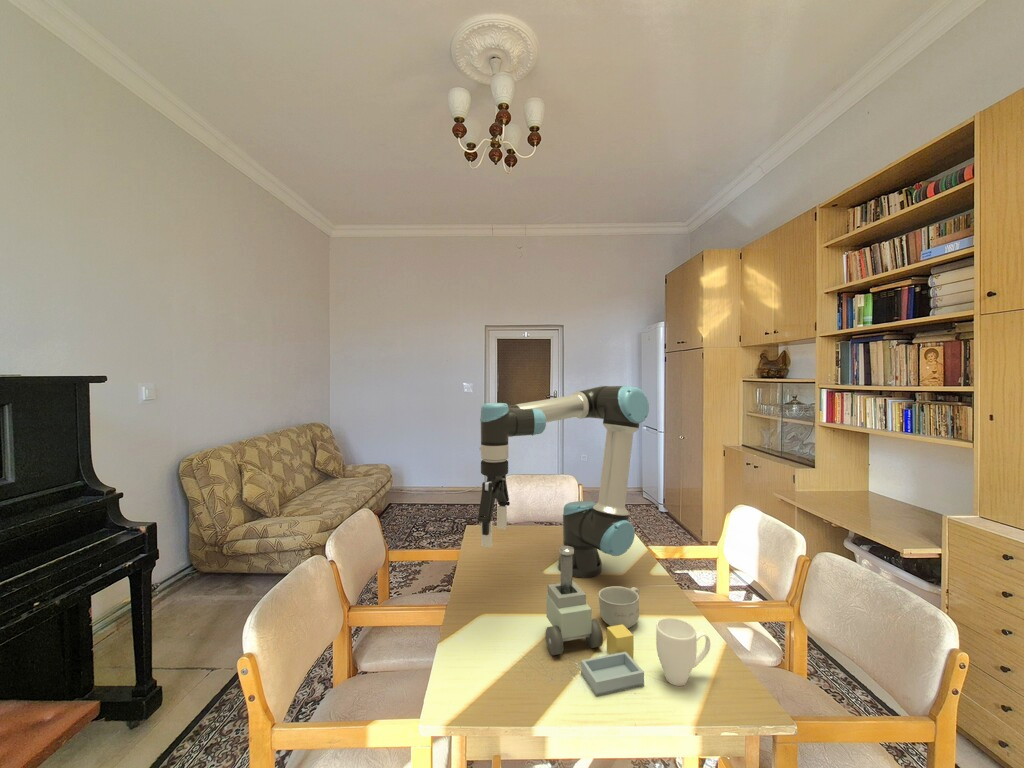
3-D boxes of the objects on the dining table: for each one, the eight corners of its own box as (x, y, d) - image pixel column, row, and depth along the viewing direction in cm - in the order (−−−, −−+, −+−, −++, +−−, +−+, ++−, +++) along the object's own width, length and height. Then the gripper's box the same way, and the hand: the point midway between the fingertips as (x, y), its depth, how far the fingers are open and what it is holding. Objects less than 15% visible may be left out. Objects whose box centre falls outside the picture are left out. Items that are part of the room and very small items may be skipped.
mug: (667, 694, 91) (667, 640, 91) (649, 668, 99) (649, 618, 99) (720, 689, 92) (720, 636, 92) (698, 664, 101) (699, 615, 101)
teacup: (616, 638, 111) (616, 607, 110) (590, 618, 120) (590, 589, 120) (656, 624, 117) (656, 595, 117) (628, 606, 127) (628, 579, 127)
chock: (622, 648, 107) (622, 624, 107) (633, 660, 102) (633, 635, 102) (606, 651, 105) (606, 627, 105) (616, 664, 101) (616, 638, 101)
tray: (625, 664, 101) (625, 651, 101) (644, 685, 93) (644, 672, 93) (581, 673, 97) (581, 660, 97) (596, 696, 90) (596, 682, 90)
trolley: (582, 626, 116) (582, 579, 116) (602, 651, 105) (603, 600, 105) (538, 633, 113) (538, 585, 113) (554, 661, 102) (554, 608, 102)
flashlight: (570, 594, 113) (570, 545, 113) (576, 601, 110) (576, 550, 109) (556, 596, 112) (556, 546, 112) (562, 603, 108) (562, 552, 108)
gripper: (495, 451, 131) (495, 521, 131) (464, 467, 107) (465, 553, 107) (519, 452, 129) (519, 523, 129) (493, 469, 105) (493, 556, 105)
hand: (494, 537), depth 118 cm, fingers open, 13 cm apart
